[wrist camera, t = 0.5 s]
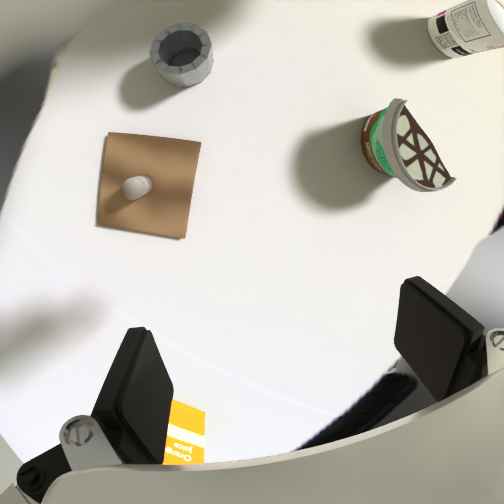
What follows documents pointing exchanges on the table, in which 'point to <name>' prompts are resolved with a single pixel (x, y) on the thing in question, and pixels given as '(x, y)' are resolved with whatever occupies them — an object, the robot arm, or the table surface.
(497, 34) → the supplement can
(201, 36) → the sleeve
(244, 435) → the table surface
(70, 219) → the table surface
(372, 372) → the table surface
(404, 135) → the food container
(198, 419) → the orange juice
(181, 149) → the wooden peg base
